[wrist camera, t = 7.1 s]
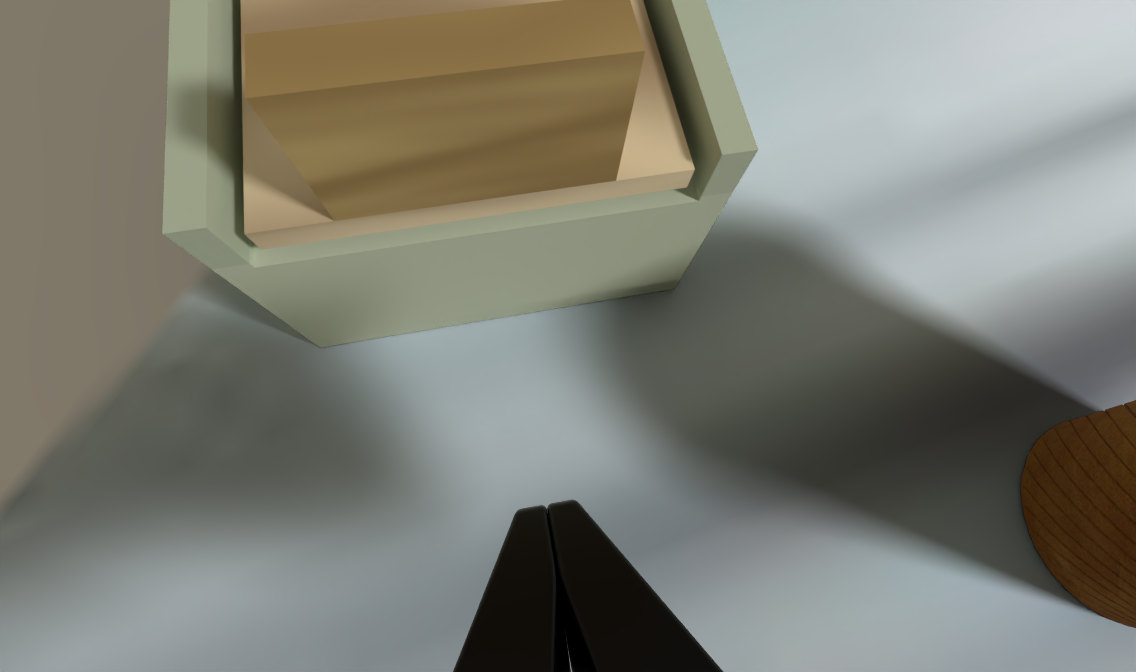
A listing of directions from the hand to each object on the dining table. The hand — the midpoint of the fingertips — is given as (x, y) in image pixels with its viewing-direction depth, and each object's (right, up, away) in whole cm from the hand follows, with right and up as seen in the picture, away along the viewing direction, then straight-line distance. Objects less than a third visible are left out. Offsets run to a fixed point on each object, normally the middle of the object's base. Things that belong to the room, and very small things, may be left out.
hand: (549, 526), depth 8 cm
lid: (-3, +9, +6) cm, 11 cm away
